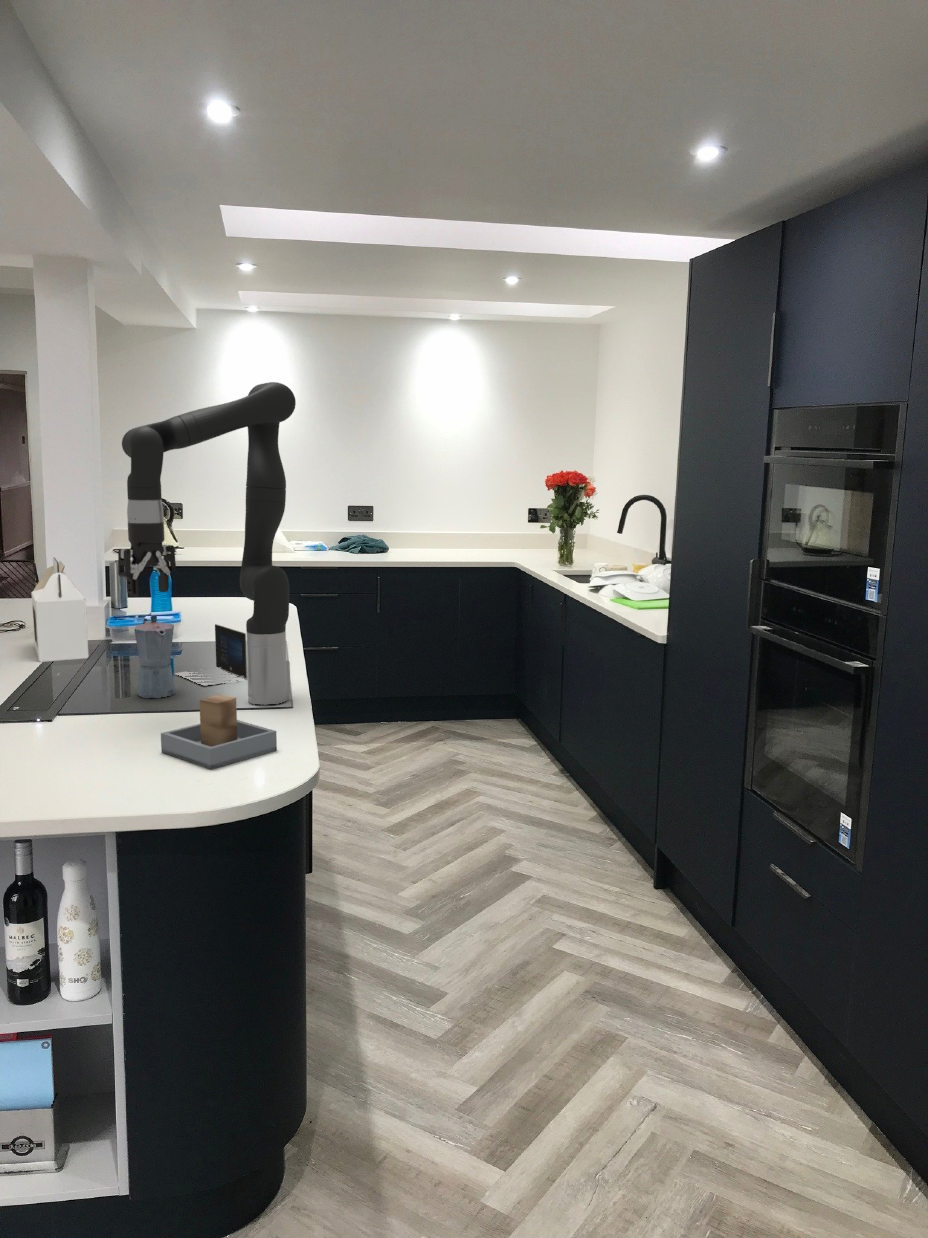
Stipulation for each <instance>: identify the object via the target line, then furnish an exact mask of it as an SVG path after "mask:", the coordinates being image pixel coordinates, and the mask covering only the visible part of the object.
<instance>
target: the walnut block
mask: <svg viewBox="0 0 928 1238" xmlns="http://www.w3.org/2000/svg"><path fill="white" fill-rule="evenodd" d="M237 711H238V709H237V697H233V696H227V695H221V694H216V695H212V696H209V697H208V696H207V697H205V698H202V699H199V722H200V723H199V724H200V729H201V744H204V745H207V746H210V747H212V746H216V745H220V744H224V743H227V742H231V741H235V740H237V720H238V715H237V714H238V713H237Z"/></svg>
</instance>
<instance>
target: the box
mask: <svg viewBox="0 0 928 1238" xmlns="http://www.w3.org/2000/svg"><path fill="white" fill-rule="evenodd" d="M277 739H278V738H277V730H274V729H271V728H268V727H263V726H260V725H257V724H253V723H249V722H247V721H246V722H245V721H243V720H239V719H237V740H235V741H231V742H227V743H224V744H220V745H216V746H212V747H210V746H207V745H204V744H201V729H200V723H197V724H192V725H189V726H185V727H180V728H176V729H175V728H174V729H172V730H168V731H163V732H160V747H161V749H160V750H161V753H163V754H164V755H168V756H171V757H174V758H176V759H179V760H182V761H185V762H188V763H191V764H193V763H194V765H197V766H200V767H202V768H205V769H208V770H213V768H214V769H216V768H217V767H218V768H220V766H221V767H223V766H227V765H231V764H234V762H235V763H237V762H241V761H240V760H242V761H245V760H248V759H252V758H255V757H257V756H262V755H265V754H268V753H273V752H275V751H278V748H277V747H278V746H277V745H278V744H277V743H278V742H277ZM230 763H231V764H230Z"/></svg>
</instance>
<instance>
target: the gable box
mask: <svg viewBox="0 0 928 1238" xmlns="http://www.w3.org/2000/svg"><path fill="white" fill-rule="evenodd" d="M64 569H65V564H64V563H62V561H61V560H59V561H58V559H57V558H56V557H52V566H50V567H48V568H46V570H45V572H44V573H43V574H42V576H41V578H40V579H39V580H38V582H37V584H36V585H35V587H34V589H33V590H32V591H31V593H30V594H31V607H32V621H33V622H32V623H33V637H34V639H33V640H34V650H35V653H36V655H37V659H38V662H39V663H46V662H48V663H49V662H58V661H59V662H60V661H72V660H84V659H85V660H86V659H89V640H88V639H89V636H88V624H87V623H88V622H87V619H88V618H87V604H86V602H87V601H86V598H85V597H84V595H83V594H82V593H81V592H80V590H79V589H77V588H76V586H75V584H74V583H73V582H72V580H71V579H70V578H69V576H68V575H67V574H66V573H65V571H64Z"/></svg>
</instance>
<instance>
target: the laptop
mask: <svg viewBox="0 0 928 1238" xmlns="http://www.w3.org/2000/svg"><path fill="white" fill-rule="evenodd" d="M214 633H215V634H214V635H215V636H214V638H215V665H216V667H218V668H220V669H222V670H224V671H227V672H230V673H232V674H227V675H237V676H240V677H235V678H242V679H243V678H245V679H246V680H248V671H247V634H246V632H243V631H239V630H236V629H233V628H230V627H227V626H223V625H220V624H218V623H217V624H216V623H215V624H214ZM216 667H215V668H216ZM203 669H204V668H203ZM203 669H202V670H203ZM189 673H191V674H189ZM192 673H194V672H187V671H179V672H175V673H174V675H176V676H178V675H179V676H178V677H180V676H182V677H183V678H182V677H181V678H182V679H184V678H187V679H189V680H191V681H193V682H192V683H194V682H196V683H197V682H201V681H202V682H204V681H213V680H192V679H190V678H201V677H185V676H190V675H191V676H192V675H198V674H192ZM195 673H198V672H195ZM201 673H202V672H201ZM201 675H202V676H203V675H204V674H199V675H198V676H201ZM205 675H213V674H205ZM215 675H216V674H215ZM217 675H218V674H217ZM221 675H223V674H221ZM224 675H226V674H224ZM202 678H206V677H202ZM207 678H211V677H207ZM212 678H213V677H212ZM217 678H218V677H217ZM220 678H221V677H220ZM222 678H226V677H222ZM229 678H230V677H229ZM233 678H234V677H233ZM187 679H186V680H187ZM189 680H188V681H189ZM191 681H190V682H191ZM214 681H218V680H214ZM220 681H224V682H225V681H229V682H230V681H231V680H220ZM236 681H238V680H236ZM196 683H195V684H196ZM198 684H201V685H208V684H209V685H210V684H218V683H197V684H196V685H198ZM201 685H200V686H201Z"/></svg>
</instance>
